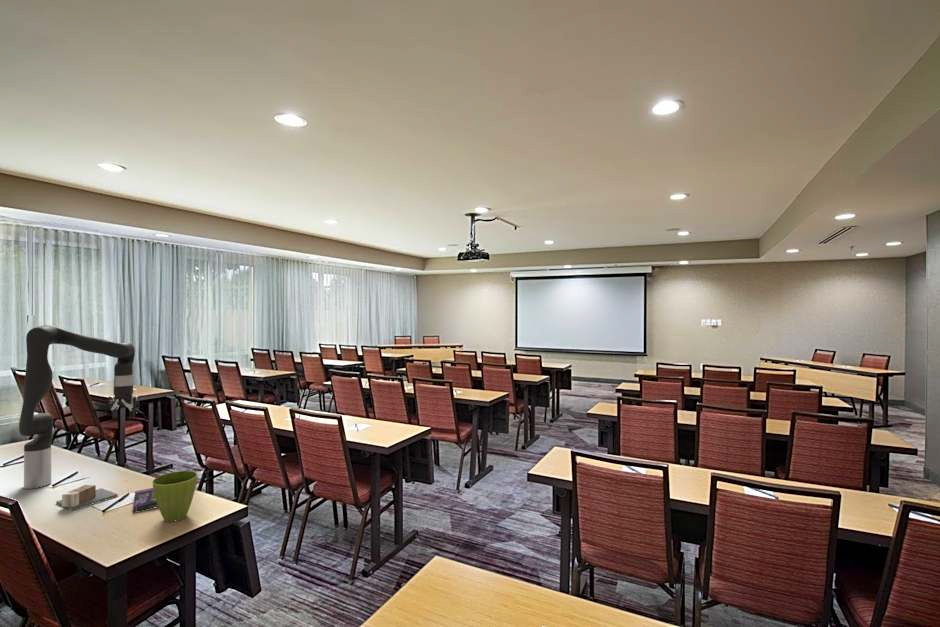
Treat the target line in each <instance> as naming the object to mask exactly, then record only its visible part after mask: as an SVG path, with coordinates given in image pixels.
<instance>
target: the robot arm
mask: <svg viewBox="0 0 940 627" xmlns="http://www.w3.org/2000/svg"><path fill="white" fill-rule="evenodd" d="M25 338H26V339H25V340H26V342H25V343H26V364H25V375H24V382H23V383H24V384H23V385H24V386H23V399H22V400H23V401H22V406H21V413H20V418H19V422H18V430H19V435H20V436H22V437H31V436H36V437H35V438H34V439H32V440H30V441H28V442H26V443H25V444H24V446H23V489H25V490H33V489H38V488H39V487H40V488H43V486H44V487H46V485H47V486H49V485H51V484H50V483H52V442H53V429H54V419H53V415H52V414H51V413H49V412H45V413H43V412H42V413H37V414H35V412H36V409H37V406H38V405H39V403H41V401H42V400H43V399H44V398H45V397H46V395H48V393H50V391H51V388H52V386H53V378H54V377H53V375H54V374H53V370H52V367H51V365H50V362H49V360H48V354H49V348H50V346H51V345H54V344H55V345H67V346H71V347H74V348H76V349H78V350H81V351H85V352H89V353H93V354H100V355H104V356H108V357H111V358H116V359H117V361H116V363H115V365H114V370H113V371H114V372H113V374H114V376H113V395H111V396H108V397H107V406H106V407H107V410H110V411H111V417H112V418H111V419H117V418H118V415H119V413H118V411H119V410H118V409H119V407H121V406H123V407H126V408H128V410H129V412H128V414H129V415H128V416H129V417H128V419H129V420H130V419H131V420H133V419H134V418H135V417H136V410H138V409H140V407H141V406H140V396H133V393H134V376H133V374H134V373H133V372H134V371H133V369H134V368H133V364H134V361H135V355H136V349H135V347H134V345H133V344H132V343H130V342H122V343H121V342H120V343H119V342H114V341H111V340H108V339H107V338H106V339H104V338H100V337H99V338H98V337H95V336H94V337H93V336H90V335H83V334H80V333H75V332H72V331H69V330H66V329H62V328H59V327H57V326H54V325H53V326H52V325H48V324H47V325H41V326H40V325H39V326H36V327H33V328H31V329H30V330H28V332H27V334H26V337H25ZM37 435H38V436H37ZM48 484H49V485H48Z"/></svg>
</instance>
